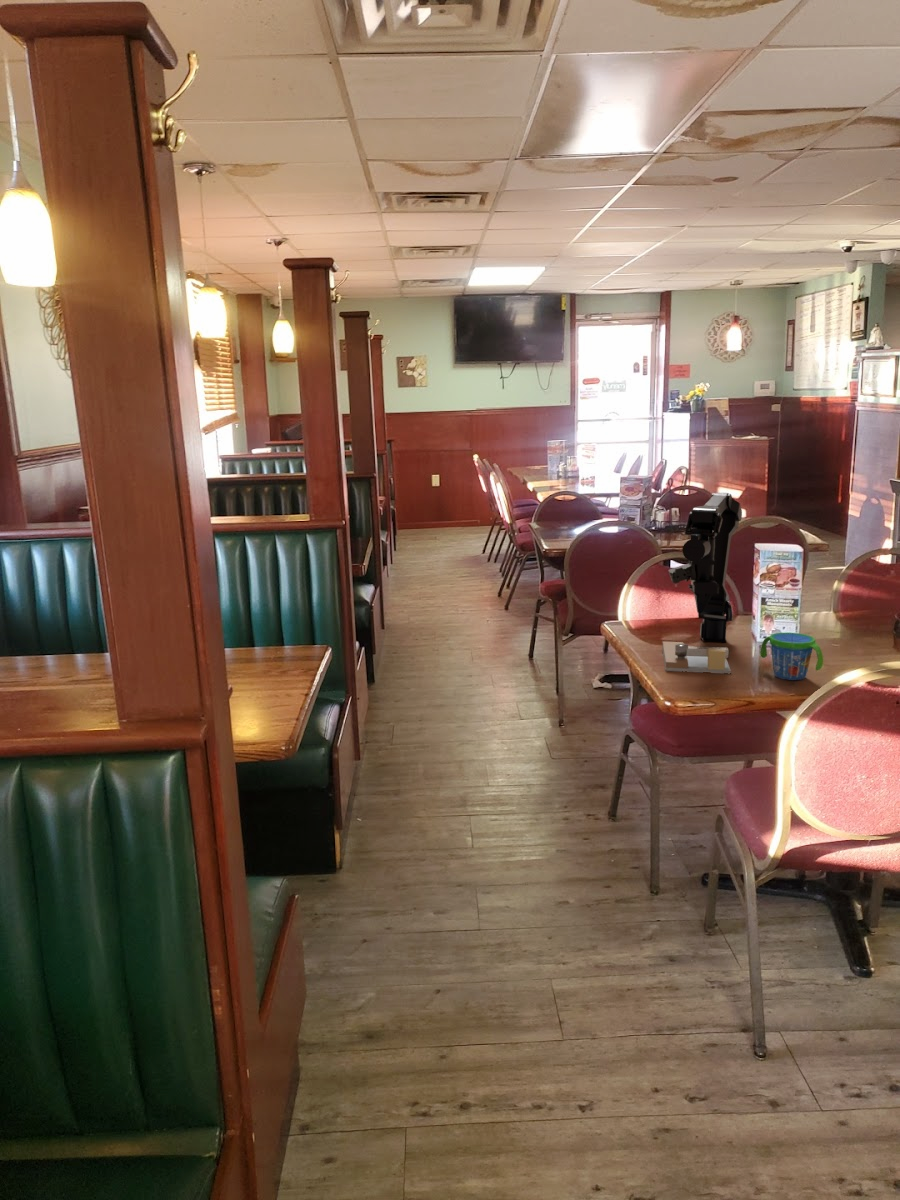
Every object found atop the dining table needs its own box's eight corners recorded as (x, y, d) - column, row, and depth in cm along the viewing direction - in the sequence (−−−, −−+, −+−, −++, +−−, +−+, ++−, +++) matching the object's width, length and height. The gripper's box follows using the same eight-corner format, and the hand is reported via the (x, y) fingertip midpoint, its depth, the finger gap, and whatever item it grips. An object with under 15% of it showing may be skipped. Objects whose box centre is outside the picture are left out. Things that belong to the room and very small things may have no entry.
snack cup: (749, 672, 215) (752, 633, 213) (776, 665, 221) (779, 627, 218) (803, 688, 202) (806, 647, 200) (830, 681, 208) (834, 641, 205)
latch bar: (675, 656, 218) (676, 646, 218) (674, 652, 221) (674, 643, 221) (728, 658, 216) (729, 648, 216) (726, 654, 219) (727, 645, 219)
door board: (722, 651, 233) (723, 632, 232) (730, 673, 214) (732, 652, 213) (662, 649, 236) (663, 630, 235) (665, 670, 217) (666, 649, 216)
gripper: (667, 549, 234) (664, 604, 237) (676, 561, 216) (673, 620, 219) (708, 549, 232) (705, 605, 236) (721, 561, 214) (717, 621, 218)
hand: (699, 613), depth 227 cm, fingers closed
